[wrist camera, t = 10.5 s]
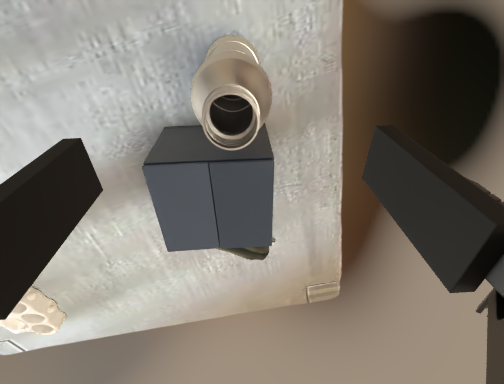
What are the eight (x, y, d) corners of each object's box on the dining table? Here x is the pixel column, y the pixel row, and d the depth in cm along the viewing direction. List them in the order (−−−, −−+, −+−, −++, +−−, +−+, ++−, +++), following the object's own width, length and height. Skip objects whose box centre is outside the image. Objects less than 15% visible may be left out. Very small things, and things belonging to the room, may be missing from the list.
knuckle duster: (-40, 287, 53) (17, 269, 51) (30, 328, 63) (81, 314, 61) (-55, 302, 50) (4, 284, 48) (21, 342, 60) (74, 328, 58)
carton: (181, 201, 43) (167, 252, 34) (164, 126, 36) (140, 166, 27) (264, 196, 44) (272, 246, 35) (264, 122, 36) (274, 160, 27)
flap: (168, 249, 35) (167, 251, 34) (142, 165, 27) (141, 167, 27) (219, 245, 35) (219, 248, 35) (208, 161, 27) (207, 163, 27)
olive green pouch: (191, 245, 43) (272, 266, 47) (196, 233, 42) (279, 256, 45) (196, 225, 47) (270, 246, 51) (200, 213, 46) (276, 235, 49)
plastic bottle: (260, 34, 30) (290, 63, 14) (257, 94, 34) (277, 171, 18) (205, 31, 30) (169, 57, 13) (208, 92, 34) (182, 170, 17)
